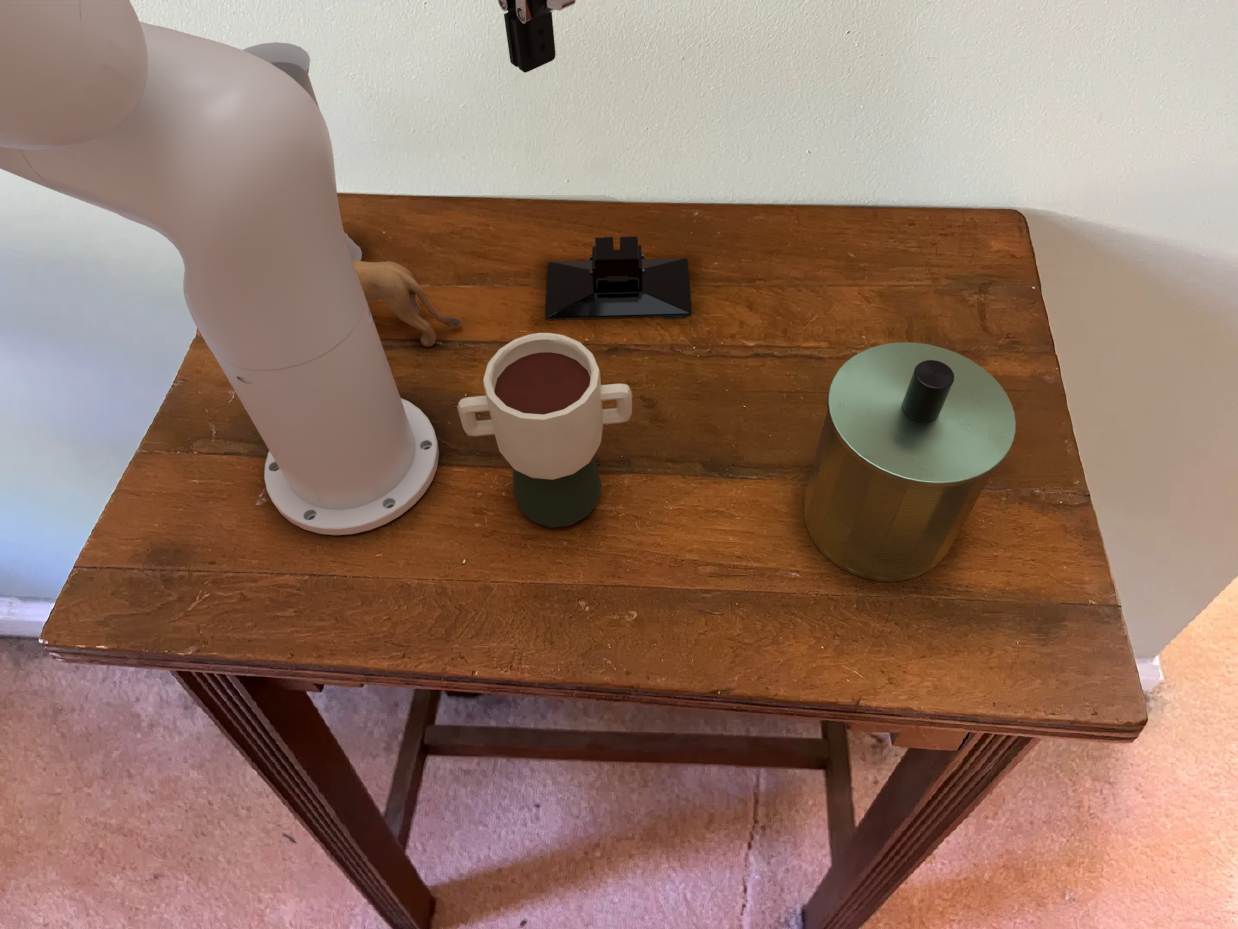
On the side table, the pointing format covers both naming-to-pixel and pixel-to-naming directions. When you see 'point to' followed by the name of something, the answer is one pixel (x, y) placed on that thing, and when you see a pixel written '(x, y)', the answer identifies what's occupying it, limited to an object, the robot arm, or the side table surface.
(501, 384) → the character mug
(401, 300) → the lion figurine
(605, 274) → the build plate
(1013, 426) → the pot lid
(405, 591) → the side table surface
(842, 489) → the pot
